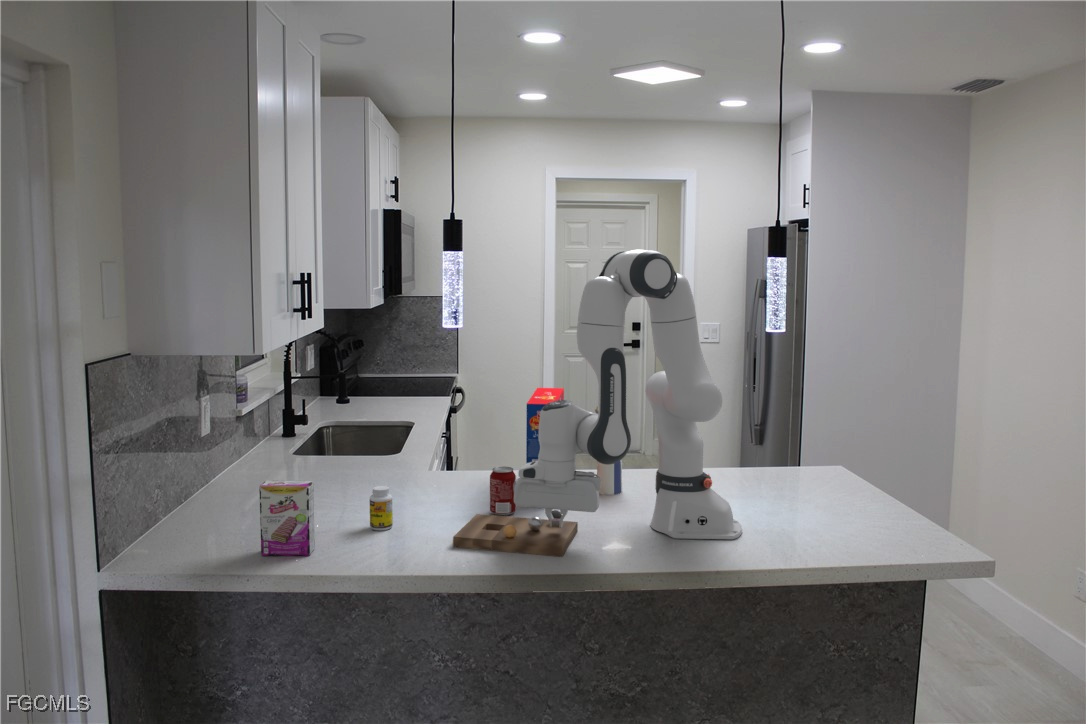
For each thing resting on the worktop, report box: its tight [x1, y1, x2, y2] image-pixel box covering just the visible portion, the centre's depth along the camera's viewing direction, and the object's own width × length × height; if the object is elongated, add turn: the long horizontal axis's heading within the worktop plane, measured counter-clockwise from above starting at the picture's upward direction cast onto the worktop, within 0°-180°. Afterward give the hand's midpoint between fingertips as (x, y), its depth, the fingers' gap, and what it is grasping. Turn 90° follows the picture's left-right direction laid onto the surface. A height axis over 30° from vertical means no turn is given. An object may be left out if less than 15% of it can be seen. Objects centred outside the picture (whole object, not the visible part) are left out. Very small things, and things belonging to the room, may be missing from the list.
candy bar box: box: [259, 480, 316, 557], centre depth 194 cm, size 11×5×16 cm, turn 92°
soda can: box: [489, 465, 517, 517], centre depth 225 cm, size 7×7×12 cm
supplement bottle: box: [369, 485, 394, 532], centre depth 212 cm, size 6×6×10 cm
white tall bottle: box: [594, 406, 623, 496], centre depth 245 cm, size 8×9×25 cm
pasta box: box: [525, 387, 565, 464], centre depth 246 cm, size 28×8×28 cm, turn 174°
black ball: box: [548, 509, 563, 521], centre depth 209 cm, size 3×3×3 cm
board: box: [452, 513, 579, 557], centre depth 205 cm, size 26×18×2 cm
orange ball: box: [504, 525, 517, 538], centre depth 198 cm, size 3×3×3 cm
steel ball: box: [528, 515, 543, 531], centre depth 204 cm, size 3×3×3 cm
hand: (556, 526), depth 202 cm, fingers closed
